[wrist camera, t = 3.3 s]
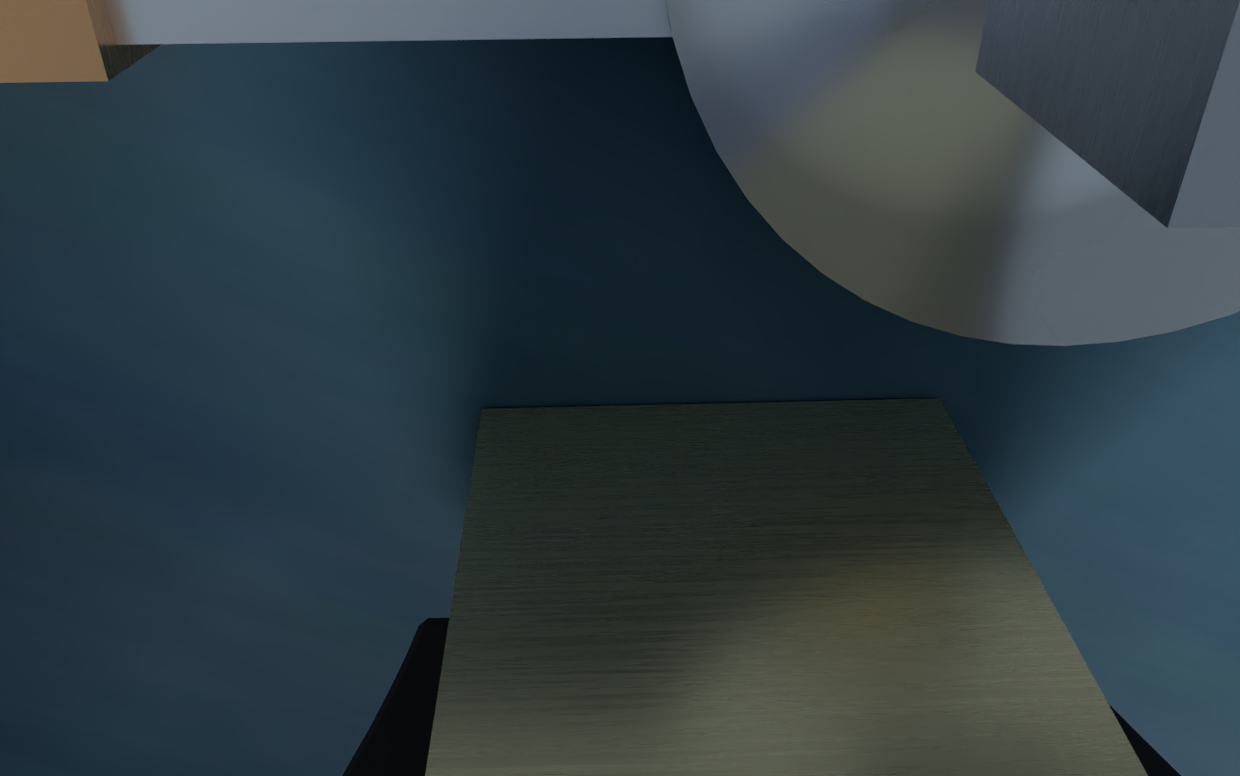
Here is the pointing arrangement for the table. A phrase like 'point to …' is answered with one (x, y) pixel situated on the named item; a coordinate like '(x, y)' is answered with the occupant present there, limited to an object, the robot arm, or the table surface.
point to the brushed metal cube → (753, 603)
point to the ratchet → (871, 133)
